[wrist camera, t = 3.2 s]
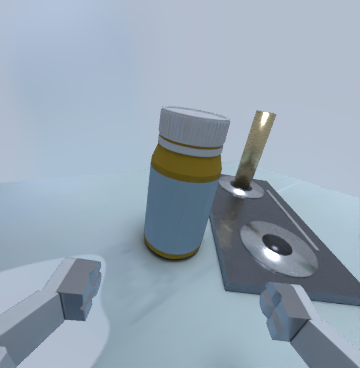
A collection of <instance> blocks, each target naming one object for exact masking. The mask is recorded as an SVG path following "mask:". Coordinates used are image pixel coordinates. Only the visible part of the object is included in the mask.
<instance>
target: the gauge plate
mask: <svg viewBox="0 0 360 368" xmlns="http://www.w3.org/2000/svg"><path fill="white" fill-rule="evenodd" d="M275 117H276V114H274V113H269V112H264V111H256V114H255V117H254V120H253V123H252V126H251V130H250V133H249V136H248V139H247V142H246V145H245V149H244V151H243V155H242V158H241V161H240V164H239V167H238V170H237V173H236V176H230V175H223V174H220V179H219V182H218V186H217V189H216V193H215V196H214V200H213V203H212V207H211V211H210V214H209V217H210V221H211V226H212V231H213V235H214V240H215V245H216V249H217V254H218V258H219V263H220V268H221V272H222V277H223V282H224V286H225V290H226V291H234V292H243V293H252V294H261V293H262V292H263V291H265V290H266V284H267V283H268V282H278V283H288V284H294V285H300V286H301V287H303V289H304V290H305V292H306V294H307V295H308V297H309V298H310V300H314V301H322V302H331V303H340V304H349V305H358V306H360V283H359V281H358V280H357V279H356V278H355V277H354V276H353V275H352V274H351V273H350V272H349V271H348V269H347V268H346V267H345V266H344V265H343V264H342V263H341V262H340V261H339V260H338V259H337V257H336V256H335V255H334V254H333V253H332V252H331V251H330V250H329V249H328V248H327V247H326V245H325V244H324V243H323V242H322V241H321V240H320V239H319V238H318V237H317V236H316V235H315V233H314V232H313V231H312V230H311V229H310V228H309V227H308V226H307V225H306V224H305V223H304V221H303V220H302V219H301V218H300V217H299V216H298V215H297V214H296V213H295V212H294V211H293V209H292V208H291V207H290V206H289V205H288V204H287V203H286V202H285V201H284V200H283V199H282V197H281V196H280V195H279V194H278V193H277V192H276V191H275V190H274V189H273V188H272V187H271V185H270V184H269V183H268V182H267V181H262V180H256V179H253V176H254V174H255V171H256V168H257V166H258V163H259V160H260V157H261V155H262V152H263V149H264V147H265V144H266V141H267V139H268V136H269V133H270V130H271V128H272V125H273V122H274V120H275Z"/></svg>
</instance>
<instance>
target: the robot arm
mask: <svg viewBox="0 0 360 368" xmlns="http://www.w3.org/2000/svg"><path fill="white" fill-rule="evenodd" d="M100 268H101V262H98V261H92V260H85V259H78V258H71V257H66V258H65V259H64V260H63V261H62V262H61V264H60V265H59V267H58V268H57V269H56V271H55V272H54V274H53V275H52V276H51V278H50V279H49V281H48V282H47V284H46V285H45V287H44V288H43V289H42V291H36V292H35V293H33V294H32V295H30V296H29V297H27V298H26V299H24V300H22V301H21V302H19V303H18V304H16V305H15V306H13V307H12V308H10V309H8V310H7V311H5V312H4V313H2V314H1V315H0V368H16V367H17V366H18V365H19V364H20V363H21V362H22V361H23V360H24V359H25V358H26V357H27V356H28V355H29V354H30V353H31V352H33V350H35V349H36V348H37V347H38V346H39V345H40V344H41V343H42V342H43V341H44V340H45V339H46V338H47V337H48V336H49V335H50V334H51V333H52V332H54V331H55V330H56V329H57V328H58V327H59V326H60V325H61V324H62V323H63V322H64V320H77V321H85V320H86V318H87V316H88V314H89V311H90V308H91V306H92V298H93V297H94V296H96V294H97V292H98V289H99V286H100V283H101V273H100V272H99V270H100ZM260 307H261V310H262V313H263V314H264V315H265V316H266V317H267V322H266V324H267V327H268V330H269V332H270V335H271V338H272V340H278V341H286V342H290V344H291V345H292V346H293V348H294V349H295V350H296V351H297V353H298V354H299V355H300V356H301V358H302V359H303V360H304V362H305V363H306V364H307V365H308V367H309V368H360V351H359V350H358V349H357V348H356V347H355V346H354V345H353V344H351V343H350V342H349V341H348V340H347V339H346V338H345V337H343V336H342V335H341V334H340V333H339V332H338V331H337V330H335V329H334V328H333V327H332V326H331V325H330V324H329V323H327V322H324V321H323V320H322V318H321V316H320V315H319V313H318V312H317V310H316V308H315V307H314V305H313V303H312V302H311V300H310V298H309V297H308V295H307V294H306V292H305V290H304V289H303V287H301V286H300V285H294V284H288V283H278V282H268V283H267V284H266V290H265V291H263V292H262V293H261V295H260Z"/></svg>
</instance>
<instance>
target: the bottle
mask: <svg viewBox="0 0 360 368" xmlns="http://www.w3.org/2000/svg"><path fill="white" fill-rule="evenodd" d="M229 124H230V118H228V117H225V116H222V115H219V114H215V113H210V112H206V111H201V110H196V109H190V108H184V107H176V106H162V109H161V115H160V124H159V132H160V134H159V138H158V145H157V147H156V149H155V151H154V153H153V155H152V159H151V167H150V177H149V187H148V197H147V207H146V218H145V228H144V238H145V242H146V243H147V245H148V247H149V248H150V249H151V250H153V251H154V252H155V253H156V254H158V255H160V256H162V257H165V258H169V259H182V258H186V257H188V256H191V255H193V254H194V253H195V252H196V251H198V249H199V247H200V245H201V242H202V239H203V235H204V232H205V228H206V225H207V221H208V218H209V214H210V211H211V207H212V203H213V200H214V196H215V193H216V189H217V186H218V182H219V179H220V174H221V170H222V166H221V153H222V149H223V144H224V142H225V139H226V136H227V132H228V128H229Z"/></svg>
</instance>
